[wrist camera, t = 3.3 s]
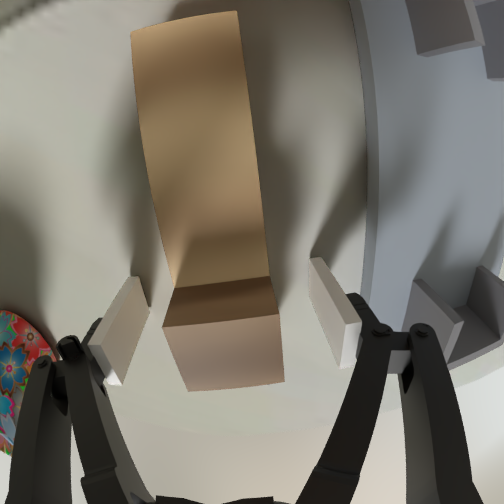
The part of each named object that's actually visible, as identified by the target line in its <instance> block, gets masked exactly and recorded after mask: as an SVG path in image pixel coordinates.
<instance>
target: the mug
mask: <svg viewBox="0 0 504 504" xmlns="http://www.w3.org/2000/svg"><path fill="white" fill-rule="evenodd" d="M43 355H49V356H50V357H51V359H52V360H53V362H55V361H56V358H55V356H54V354H53V352H52V350H51V348H50V347H49V345H48V344H47V342H46V341H45V339H44V338H43V337H42V336H41V335H40V333H39V332H38V331H37V330H36V329H35V328H34V327H33V326H32V325H30V324H29V323H28V322H27V321H26V320H24V319H23V318H21V317H20V316H18V315H16V314H14V313H12V312H9V311H3V310H2V311H0V450H1V451H3V452H4V453H6V454H7V455H9V456H11V457H12V451H13V444H14V438H15V432H16V427H17V422H18V417H19V412H20V408H21V404H22V400H23V396H24V392H25V388H26V384H27V381H28V377H29V374H30V371H31V368H32V364H33V363H34V361H35V360H36V359H37V358H38V357H40V356H43Z"/></svg>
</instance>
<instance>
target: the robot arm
mask: <svg viewBox="0 0 504 504" xmlns="http://www.w3.org/2000/svg"><path fill="white" fill-rule="evenodd" d="M309 298H310V300H311V302H312V304H313V307H314V309H315V312H316V314H317V316H318V319H319V321H320V323H321V326H322V328H323V331H324V333H325V335H326V338H327V340H328V343H329V345H330V347H331V350H332V352H333V355H334V357H335V360H336V362H337V365H338V367H339V369H343V368H348V367H352V366H354V365H355V360H356V359H357V362H356V365H355V368H354V371H353V374H352V378H351V381H350V384H349V386H348V389H347V392H346V395H345V398H344V401H343V403H342V406H341V409H340V411H339V414H338V417H337V419H336V422H335V424H334V427H333V429H332V432H331V434H330V437H329V439H328V441H327V444H326V446H325V448H324V450H323V453H322V455H321V457H320V459H319V461H318V463H317V465H316V466H315V467H314V469H313V471H312V473H311V475H310V477H309V479H308V481H307V483H306V485H305V486H304V489H303V490H302V492H301V494H300V496H299V498H298V500H297V502H296V503H295V504H350V502H351V500H352V497H353V494H354V492H355V490H356V487H357V484H358V481H359V477H360V472H361V468H362V465H363V463H364V460H365V457H366V454H367V451H368V448H369V444H370V441H371V437H372V434H373V431H374V427H375V423H376V419H377V416H378V412H379V408H380V404H381V400H382V396H383V391H384V386H385V382H386V377H387V374H398V380H399V387H400V395H401V403H402V412H403V422H404V433H405V449H406V504H483V502H482V500H481V497H480V495H479V493H478V491H477V489H476V487H475V485H474V483H473V482H472V474H471V466H470V459H469V454H468V447H467V442H466V436H465V431H464V426H463V422H462V417H461V413H460V409H459V405H458V401H457V397H456V394H455V390H454V387H453V383H452V380H451V376H450V373H449V370H448V367H447V364H446V361H445V358H444V355H443V352H442V349H441V346H440V343H439V340H438V338H437V335H436V332H435V330H434V329H433V328H432V327H431V326H430V325H428V324H425V323H415V324H413V325H412V326H411V327H410V329H409V332H396V331H393V329H392V328H391V327H390V326H388V325H387V324H384V323H380V321H379V320H378V319H377V317H376V316H375V314H374V313H373V311H372V310H371V308H370V307H369V305H368V304H367V303H366V301H365V300H364V298H363V297H362V296H360V295H359V294H357V293H350V294H345V293H344V291H343V290H342V288H341V287H340V285H339V283H338V282H337V280H336V279H335V277H334V276H333V274H332V273H331V271H330V270H329V268H328V267H327V265H326V263H325V262H324V260H323V259H322V257H316V258H309ZM149 313H150V311H149V308H148V305H147V302H146V298H145V295H144V292H143V289H142V285H141V282H140V278H139V276H136V277H128V278H127V280H126V282H125V283H124V285H123V286H122V288H121V289H120V291H119V292H118V294H117V296H116V297H115V299H114V300H113V302H112V304H111V305H110V307H109V309H108V310H107V312H106V314H105V315H104V317H103V318H98V319H97V320H96V321H95V322H94V323H93V324H92V326H91V327H90V330H89V331H88V332H87V335H86V336H85V337H84V339H83V341H82V342H81V343H80V341H79V339H78V337H76V336H75V335H70V336H66V337H64V338H62V339H61V340H60V341H59V342H58V343H57V345H56V348H57V350H58V352H59V354H60V355H61V357H62V359H63V360H60V361H55V362H53V360H52V359H51V357H50V356H49V355H43V356H40V357H38V358H37V359H36V360H35V361H34V363H33V364H32V368H31V371H30V374H29V377H28V381H27V384H26V388H25V392H24V396H23V400H22V404H21V408H20V412H19V417H18V422H17V427H16V432H15V438H14V444H13V451H12V459H11V468H10V480H9V492H8V495H7V498H6V501H5V504H72V494H71V467H70V455H71V426H73V431H74V435H75V440H76V444H77V448H78V452H79V456H80V459H81V463H82V467H83V470H84V474H85V476H84V477H82V478H81V486H82V489H83V492H84V495H85V498H86V500H87V503H88V504H203V503H199V502H195V501H191V500H188V499H184V498H176V497H164V496H156V501H155V500H154V499H153V497H152V496H151V495H150V494H149V492H148V491H147V489H146V487H145V486H144V483H143V481H142V479H141V477H140V475H139V473H138V471H137V469H136V467H135V465H134V462H133V460H132V458H131V456H130V453H129V451H128V449H127V446H126V444H125V442H124V439H123V436H122V434H121V431H120V429H119V426H118V423H117V421H116V418H115V415H114V412H113V409H112V406H111V403H110V400H109V397H108V394H107V390H106V387H105V386H104V384H103V381H104V378H106V379H107V381H108V383H109V384H110V385H122V384H123V381H124V379H125V376H126V373H127V370H128V367H129V365H130V362H131V359H132V357H133V354H134V351H135V349H136V346H137V343H138V341H139V338H140V336H141V333H142V330H143V328H144V325H145V323H146V320H147V318H148V315H149ZM223 504H289V503H284V502H276V501H274V500H273V496H272V497H261V498H247V499H240V500H237V501H232V502H228V503H223Z"/></svg>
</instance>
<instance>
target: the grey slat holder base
mask: <svg viewBox="0 0 504 504" xmlns="http://www.w3.org/2000/svg"><path fill="white" fill-rule="evenodd" d="M349 4H350V9H351V13H352V18H353V23H354V29H355V34H356V40H357V47H358V53H359V60H360V68H361V76H362V85H363V95H364V106H365V120H366V140H367V218H366V238H365V252H364V265H363V275H362V285H361V294H360V296H362V297H363V298H364V300H365V301H366V303H367V304H368V305H369V307H370V308H371V310H372V311H373V313H374V314H375V316H376V317H377V319H378V320H379V321H380V323H384V324H387V325H388V326H390V327H391V328H392V329H393V331H396V332H409V329H410V327H411V326H412V325H413V324H415V323H425V324H428V325H430V326H431V327H432V328H433V329H434V330H435V332H436V335H437V338H438V340H439V343H440V346H441V349H442V352H443V355H444V358H445V361H446V364H447V367H448V370H451V369H454V368H456V367H458V366H461V365H463V364H465V363H467V362H469V361H471V360H473V359H476V358H478V357H480V356H482V355H484V354H486V353H488V352H490V351H491V350H493V349H495V348H497V347H499V346H501V345H502V344H503V342H504V281H502V280H501V279H500V278H499V277H498V276H499V273H500V269H501V265H502V261H503V257H504V0H349Z"/></svg>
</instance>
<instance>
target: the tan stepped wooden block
mask: <svg viewBox="0 0 504 504" xmlns="http://www.w3.org/2000/svg"><path fill="white" fill-rule="evenodd" d="M131 49H132V63H133V74H134V84H135V93H136V102H137V110H138V117H139V125H140V131H141V138H142V144H143V150H144V156H145V162H146V168H147V173H148V178H149V183H150V189H151V194H152V198H153V203H154V208H155V212H156V217H157V221H158V226H159V230H160V234H161V238H162V242H163V247H164V251H165V254H166V258H167V262H168V266H169V270H170V273H171V277H172V281H173V284H174V291H173V294H172V297H171V300H170V304H169V307H168V310H167V313H166V316H165V319H164V323H163V326H162V329H163V331H164V334H165V337H166V339H167V342H168V344H169V347H170V349H171V352H172V354H173V357H174V359H175V362H176V364H177V367H178V369H179V371H180V374H181V376H182V378H183V381H184V383H185V385H186V387H187V390H188V392H190V391H208V390H221V389H232V388H242V387H251V386H259V385H266V384H273V383H280V382H285V381H284V366H283V353H282V340H281V328H280V315H279V310H278V307H277V303H276V299H275V295H274V291H273V287H272V283H271V279H270V274H269V264H268V255H267V245H266V236H265V227H264V218H263V209H262V200H261V192H260V183H259V175H258V166H257V158H256V150H255V142H254V133H253V125H252V118H251V110H250V102H249V94H248V87H247V79H246V72H245V64H244V57H243V50H242V43H241V36H240V29H239V22H238V15H237V10H236V11H227V12H218V13H211V14H205V15H198V16H193V17H187V18H182V19H178V20H173V21H169V22H164V23H160V24H156V25H153V26H149V27H145V28H142V29H139V30H135V31H132V32H131Z"/></svg>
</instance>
